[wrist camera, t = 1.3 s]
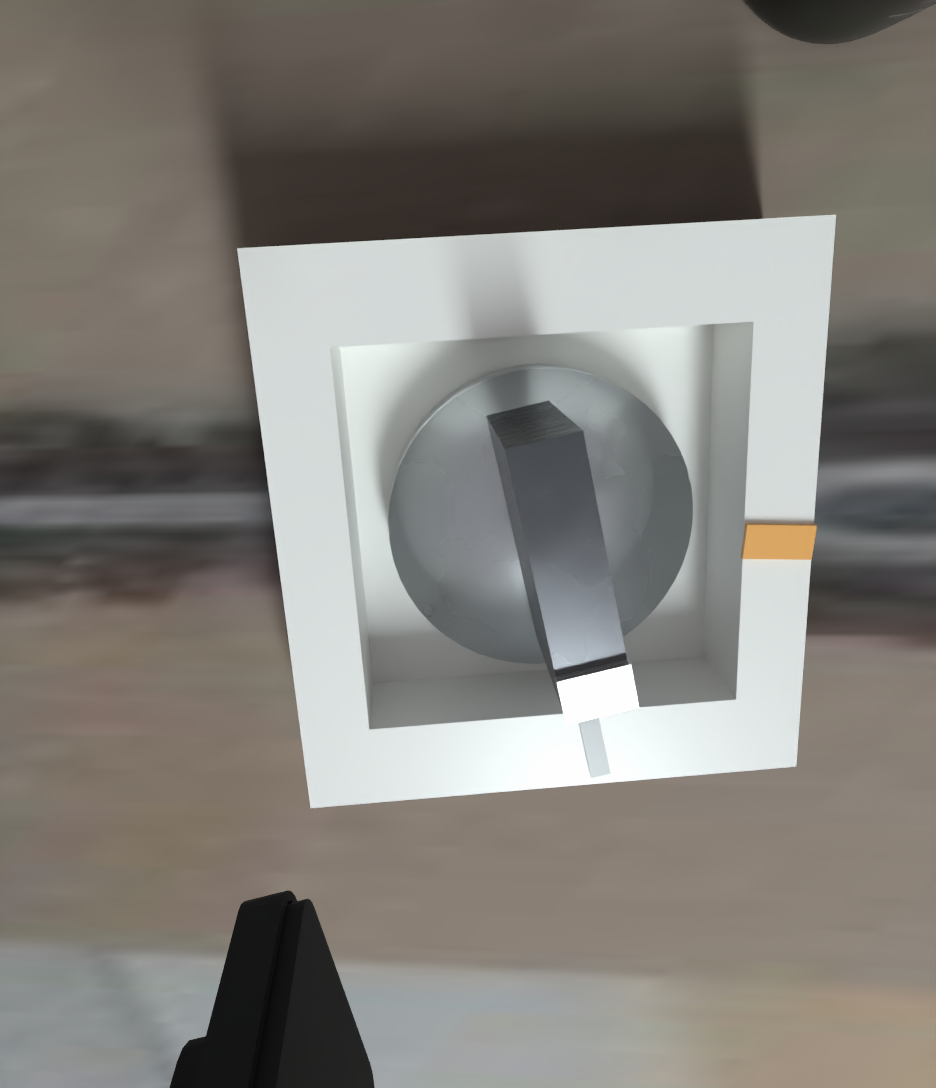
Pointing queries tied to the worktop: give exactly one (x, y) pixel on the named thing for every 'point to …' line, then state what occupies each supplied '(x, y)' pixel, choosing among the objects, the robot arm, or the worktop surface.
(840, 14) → the supplement bottle
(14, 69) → the worktop surface
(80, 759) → the worktop surface
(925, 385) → the worktop surface
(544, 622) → the dial
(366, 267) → the dial housing
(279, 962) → the robot arm
